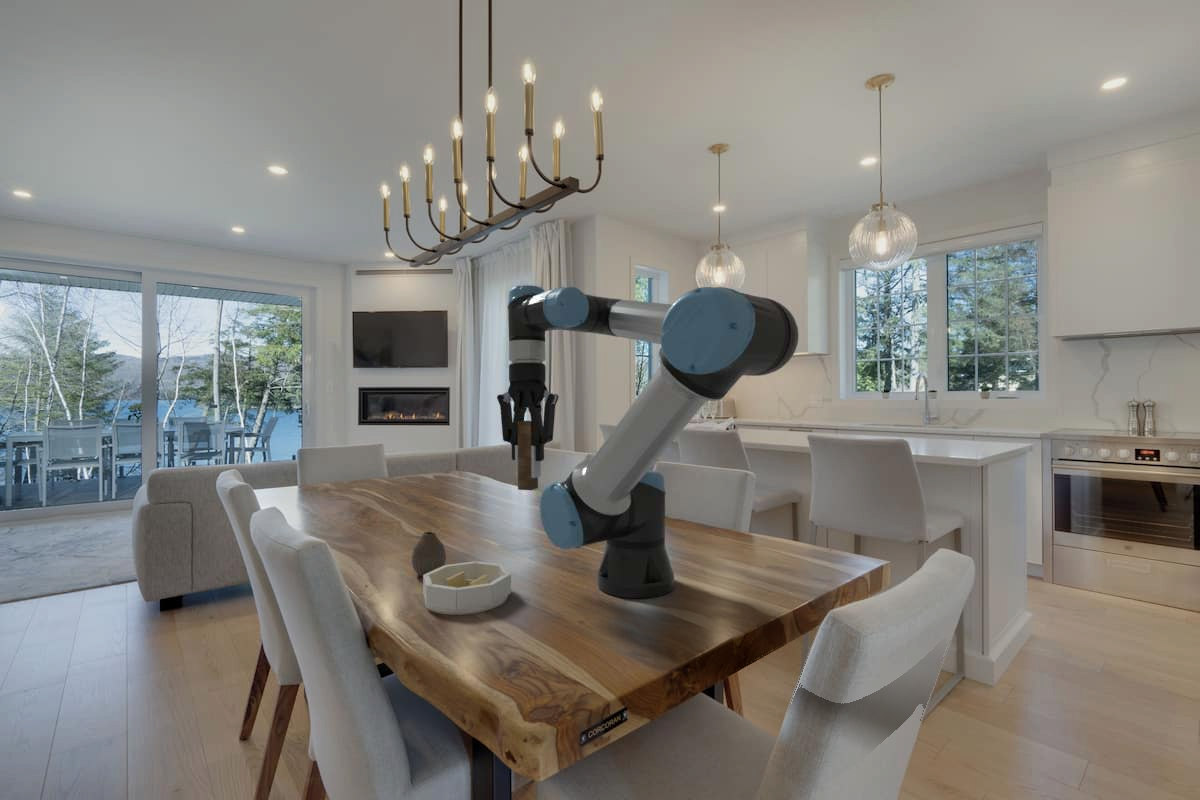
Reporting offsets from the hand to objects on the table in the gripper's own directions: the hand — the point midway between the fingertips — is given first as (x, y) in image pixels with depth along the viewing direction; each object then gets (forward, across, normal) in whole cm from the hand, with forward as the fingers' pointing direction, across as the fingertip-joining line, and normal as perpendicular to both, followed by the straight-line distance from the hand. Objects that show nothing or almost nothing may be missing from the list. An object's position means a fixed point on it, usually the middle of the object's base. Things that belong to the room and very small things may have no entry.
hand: (527, 476), depth 111 cm
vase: (+21, +21, +5) cm, 30 cm away
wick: (+3, 0, 0) cm, 3 cm away
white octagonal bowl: (+21, +5, +14) cm, 26 cm away
